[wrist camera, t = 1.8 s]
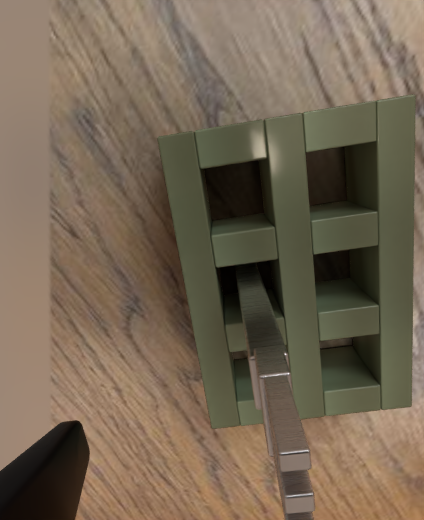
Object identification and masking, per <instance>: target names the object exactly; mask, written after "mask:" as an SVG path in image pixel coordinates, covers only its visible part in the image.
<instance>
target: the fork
mask: <svg viewBox="0 0 424 520" xmlns="http://www.w3.org/2000/svg"><path fill="white" fill-rule="evenodd" d="M235 271H236V279H237V286H238V292H239V299H240V306H241V313H242V320H243V327H244V334H245V341H246V347H247V354H248V361H249V368H250V375H251V382H252V389H253V396H254V403H255V407H256V409H258V410H260V409H261V410H262V418H263V424H264V430H265V436H266V442H267V448H268V454H269V455H270V456H271V457H274V463H275V468H276V474H277V479H278V485H279V490H280V496H281V501H282V507H283V512H284V518H285V520H314V518H313V514H312V512H313V511H315V499H314V492H313V489H312V485H311V481H310V478H309V474H308V471H307V470H309V469H311V455H310V449H309V446H308V442H307V439H306V436H305V433H304V429H303V426H302V423H301V420H300V417H299V413H298V410H297V407H296V404H295V400H294V397H293V389H292V379H291V372H290V366H289V356H288V352H287V349H286V347H285V344H284V341H283V338H282V335H281V332H280V329H279V327H278V324H277V321H276V318H275V315H274V312H273V310H272V307H271V304H270V301H269V298H268V295H267V292H266V290H265V287H264V284H263V281H262V278H261V275H260V273H259V270H258V267H257V264H256V262H254V263H247V264H240V265H235Z"/></svg>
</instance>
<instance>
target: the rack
mask: <svg viewBox="0 0 424 520" xmlns="http://www.w3.org/2000/svg"><path fill="white" fill-rule="evenodd" d="M157 141H158V146H159V151H160V157H161V162H162V167H163V173H164V178H165V183H166V189H167V194H168V199H169V205H170V210H171V215H172V221H173V226H174V231H175V237H176V242H177V247H178V253H179V258H180V263H181V268H182V274H183V279H184V284H185V290H186V295H187V300H188V306H189V311H190V316H191V322H192V327H193V332H194V338H195V343H196V348H197V354H198V359H199V364H200V370H201V375H202V380H203V386H204V391H205V396H206V402H207V407H208V412H209V418H210V423H211V427H212V429H217V428H226V427H235V426H240V425H241V426H245V425H254V424H263V418H262V410H261V409H260V410H258V409H256V407H255V403H254V396H253V389H252V382H251V375H250V368H249V361H248V359H240V360H233V353H232V352H238V351H246V350H247V347H246V341H245V334H244V327H243V320H242V313H241V306H240V299H239V293H235V294H227V295H223V289H222V282H221V276H220V269H219V267H226V266H233V265H240V264H247V263H254V262H262V261H269V260H270V268H271V277H272V286H273V289H265V290H266V292H267V295H268V298H269V301H270V304H271V307H272V310H273V312H274V315H275V318H276V321H277V324H278V327H279V329H280V332H281V335H282V338H283V341H284V344H285V347H286V349H287V352H288V356H289V366H290V372H291V379H292V389H293V397H294V400H295V404H296V407H297V410H298V413H299V417H300V419H307V418H316V417H324V416H332V415H341V414H350V413H359V412H368V411H377V410H380V409H382V410H387V409H396V408H405V407H411V406H412V340H413V259H414V177H415V95H413V94H412V95H406V96H400V97H394V98H388V99H382V100H377V101H370V102H364V103H357V104H351V105H345V106H339V107H333V108H327V109H321V110H315V111H309V112H304V113H297V114H291V115H285V116H279V117H273V118H267V119H265V120H262V119H261V120H255V121H249V122H243V123H237V124H231V125H225V126H219V127H213V128H207V129H201V130H196V131H195V132H193V131H189V132H183V133H177V134H171V135H165V136H159V137H158V138H157ZM344 146H345V166H346V189H347V201H339V202H333V203H326V204H319V205H313V206H309V195H308V181H307V168H306V154H305V152H313V151H319V150H325V149H331V148H338V147H344ZM256 160H259V169H260V178H261V187H262V196H263V205H264V213H260V214H253V215H247V216H240V217H233V218H226V219H220V220H214V221H213V222H212V218H211V211H210V205H209V199H208V192H207V186H206V179H205V173H204V169H205V168H212V167H218V166H224V165H230V164H237V163H243V162H249V161H256ZM342 250H349V260H350V278H345V279H338V280H330V281H323V282H316V283H315V276H314V263H313V254H321V253H328V252H335V251H342ZM350 337H353V346H347V347H339V348H331V349H323V350H320V344H319V340H320V341H326V340H334V339H342V338H350Z"/></svg>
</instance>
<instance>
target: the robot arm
mask: <svg viewBox="0 0 424 520" xmlns="http://www.w3.org/2000/svg"><path fill="white" fill-rule="evenodd" d="M89 456H90V451H89V446H88V442H87V439H86V436H85V433H84V430H83V427H82V424H81V423H80V422H79V421H77V420H75V421H66V422H62V423H60V424H58V425H57V426H56V427H55V428H53V429H52V430H51V431H50V432H48V433H47V434H46V435H45V436H43V437H42V438H41V439H40V440H38V441H37V442H36V443H35V444H33V445H32V446H31V447H30V448H29V449H27V450H26V451H25V452H24V453H22V454H21V455H20V456H18V457H17V458H16V459H15V460H14V461H12V462H11V463H10V464H9V465H7V466H6V467H5V468H4V469H2V470H1V471H0V520H75V517H76V513H77V509H78V504H79V500H80V496H81V492H82V487H83V483H84V479H85V475H86V471H87V466H88V462H89Z"/></svg>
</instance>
